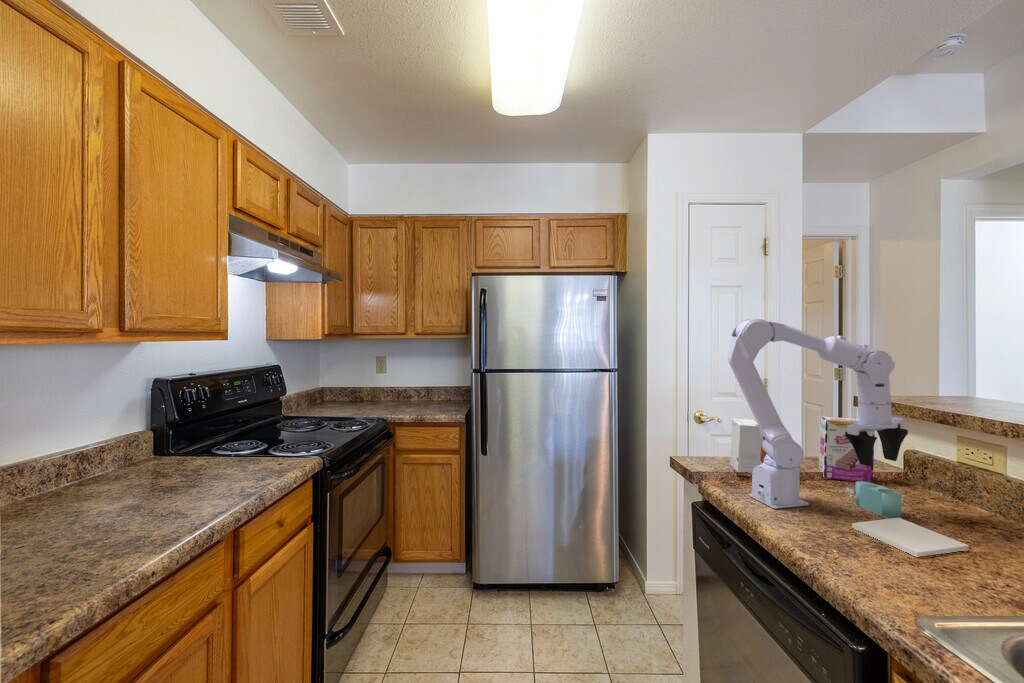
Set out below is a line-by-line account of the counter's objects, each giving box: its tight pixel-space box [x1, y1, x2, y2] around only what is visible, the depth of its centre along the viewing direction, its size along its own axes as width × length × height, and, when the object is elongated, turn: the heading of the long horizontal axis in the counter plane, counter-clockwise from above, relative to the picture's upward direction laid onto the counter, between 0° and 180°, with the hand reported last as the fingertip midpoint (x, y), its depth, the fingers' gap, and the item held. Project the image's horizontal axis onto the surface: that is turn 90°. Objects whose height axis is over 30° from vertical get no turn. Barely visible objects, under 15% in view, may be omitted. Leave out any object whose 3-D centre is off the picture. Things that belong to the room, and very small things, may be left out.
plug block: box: [845, 481, 903, 519], centre depth 99 cm, size 4×11×5 cm, turn 11°
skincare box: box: [729, 417, 761, 473], centre depth 123 cm, size 8×6×15 cm
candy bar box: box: [818, 416, 876, 483], centre depth 118 cm, size 11×5×16 cm, turn 71°
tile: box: [851, 517, 970, 558], centre depth 85 cm, size 12×12×1 cm
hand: (878, 462), depth 98 cm, fingers open, 7 cm apart
